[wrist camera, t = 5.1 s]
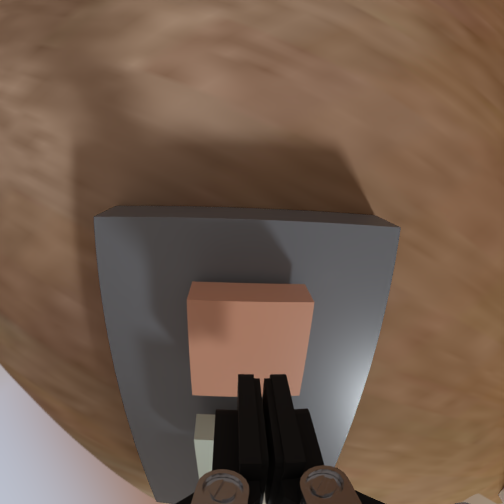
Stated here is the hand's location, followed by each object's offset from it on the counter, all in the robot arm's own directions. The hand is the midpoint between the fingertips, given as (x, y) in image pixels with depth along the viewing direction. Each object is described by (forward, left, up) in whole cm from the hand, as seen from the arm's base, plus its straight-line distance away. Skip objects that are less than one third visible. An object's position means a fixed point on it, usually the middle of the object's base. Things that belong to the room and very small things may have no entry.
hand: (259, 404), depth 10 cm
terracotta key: (+1, 0, -4) cm, 4 cm away
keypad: (-6, 0, -8) cm, 10 cm away
